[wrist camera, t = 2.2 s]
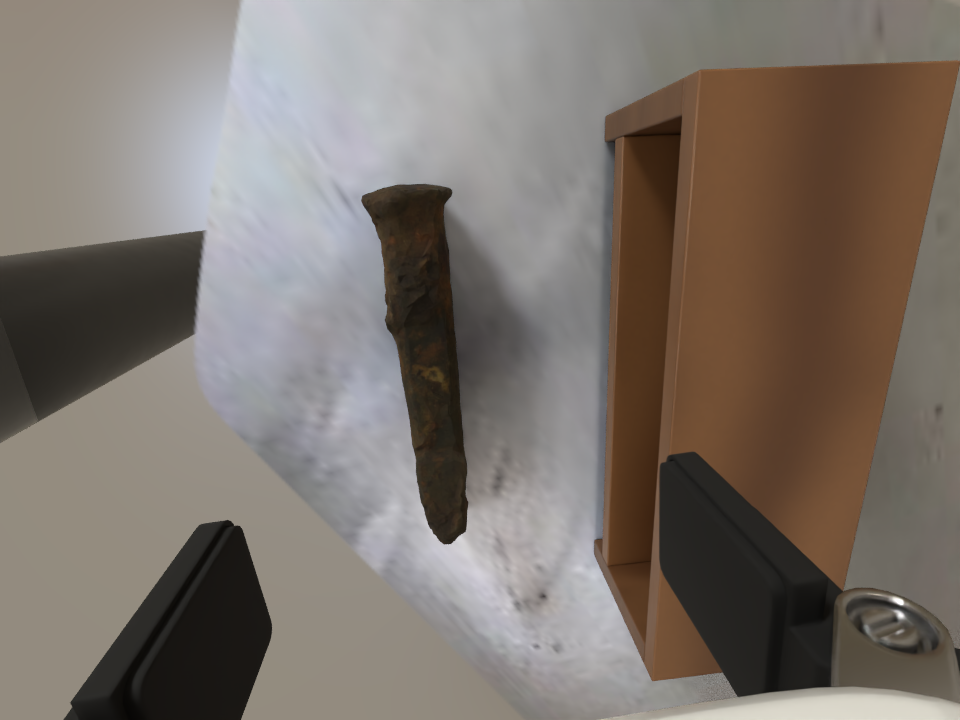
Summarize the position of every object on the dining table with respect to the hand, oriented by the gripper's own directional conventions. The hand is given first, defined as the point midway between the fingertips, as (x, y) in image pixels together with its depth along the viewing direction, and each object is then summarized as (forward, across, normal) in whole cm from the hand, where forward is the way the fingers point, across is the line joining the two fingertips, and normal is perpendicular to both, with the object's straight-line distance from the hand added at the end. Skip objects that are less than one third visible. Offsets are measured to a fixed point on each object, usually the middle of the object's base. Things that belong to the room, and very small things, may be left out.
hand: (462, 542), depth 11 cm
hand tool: (+17, 0, +1) cm, 17 cm away
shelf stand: (+17, -13, +3) cm, 21 cm away
